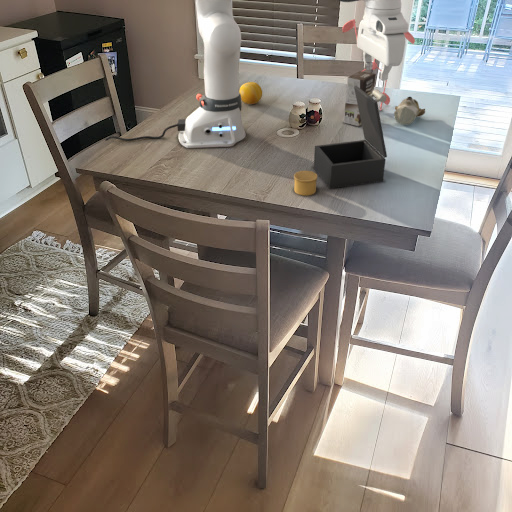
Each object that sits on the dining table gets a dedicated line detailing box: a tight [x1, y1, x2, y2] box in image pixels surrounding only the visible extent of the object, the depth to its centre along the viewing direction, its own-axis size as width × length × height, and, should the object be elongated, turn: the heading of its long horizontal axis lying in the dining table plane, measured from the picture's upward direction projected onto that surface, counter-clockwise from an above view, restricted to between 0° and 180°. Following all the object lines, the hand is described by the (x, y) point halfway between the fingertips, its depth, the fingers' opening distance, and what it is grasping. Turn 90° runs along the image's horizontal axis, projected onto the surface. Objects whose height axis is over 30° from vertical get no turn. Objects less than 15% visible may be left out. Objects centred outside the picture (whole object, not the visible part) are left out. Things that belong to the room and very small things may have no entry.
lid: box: [354, 86, 388, 159], centre depth 155 cm, size 17×14×5 cm
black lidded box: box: [313, 139, 387, 189], centre depth 161 cm, size 16×14×7 cm
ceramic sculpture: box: [393, 96, 426, 126], centre depth 194 cm, size 11×9×15 cm
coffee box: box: [343, 70, 377, 127], centre depth 192 cm, size 9×6×16 cm
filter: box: [293, 170, 318, 196], centre depth 154 cm, size 6×6×4 cm
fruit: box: [239, 81, 263, 105], centre depth 211 cm, size 9×8×8 cm
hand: (375, 74), depth 147 cm, fingers open, 8 cm apart
